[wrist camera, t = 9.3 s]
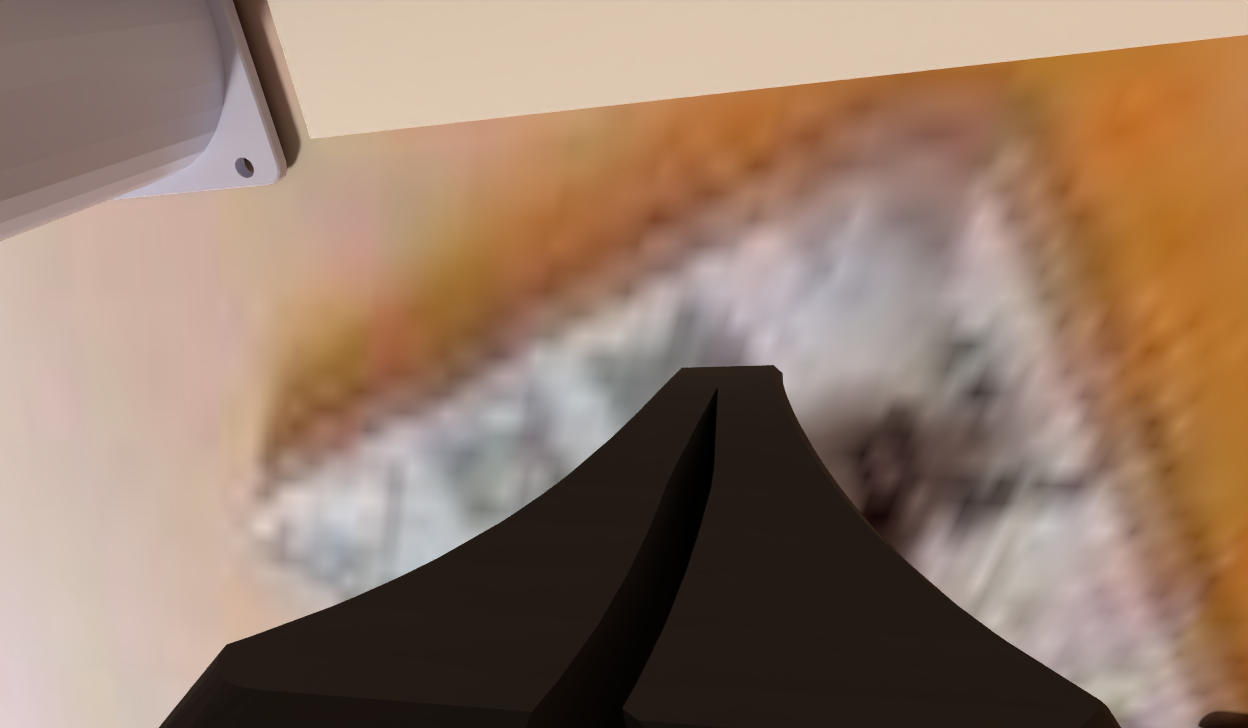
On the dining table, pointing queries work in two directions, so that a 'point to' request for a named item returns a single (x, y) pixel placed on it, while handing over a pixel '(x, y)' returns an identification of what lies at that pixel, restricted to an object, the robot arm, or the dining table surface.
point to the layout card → (671, 48)
